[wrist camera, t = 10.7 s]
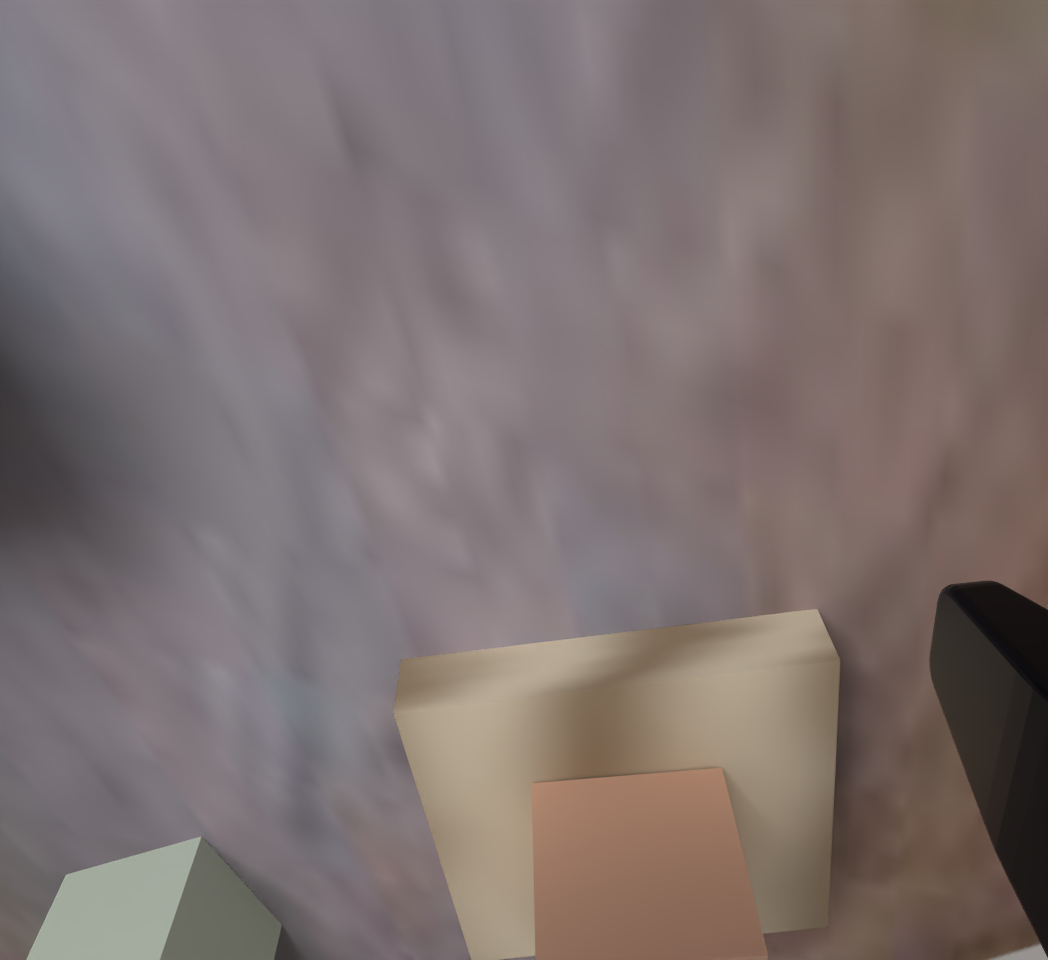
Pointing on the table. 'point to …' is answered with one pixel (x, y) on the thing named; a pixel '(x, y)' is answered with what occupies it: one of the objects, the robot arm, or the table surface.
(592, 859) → the terracotta cube
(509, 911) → the plinth
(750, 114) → the table surface
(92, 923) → the sage cube
